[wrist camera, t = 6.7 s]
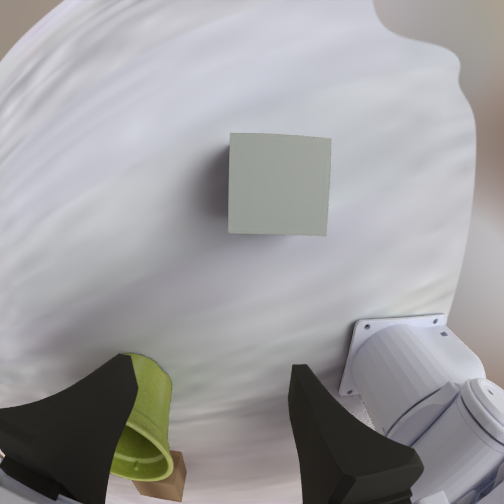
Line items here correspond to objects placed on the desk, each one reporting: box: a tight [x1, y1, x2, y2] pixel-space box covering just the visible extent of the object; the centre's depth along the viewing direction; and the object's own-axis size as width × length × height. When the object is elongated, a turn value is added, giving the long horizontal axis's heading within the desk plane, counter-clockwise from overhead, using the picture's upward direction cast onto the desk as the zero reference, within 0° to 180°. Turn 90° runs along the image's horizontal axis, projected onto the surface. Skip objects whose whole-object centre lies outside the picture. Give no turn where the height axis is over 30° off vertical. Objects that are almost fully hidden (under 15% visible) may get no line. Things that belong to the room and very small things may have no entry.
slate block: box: [228, 133, 331, 236], centre depth 16 cm, size 5×5×5 cm
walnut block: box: [132, 451, 186, 502], centre depth 25 cm, size 5×5×5 cm
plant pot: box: [110, 353, 174, 481], centre depth 19 cm, size 9×9×9 cm
